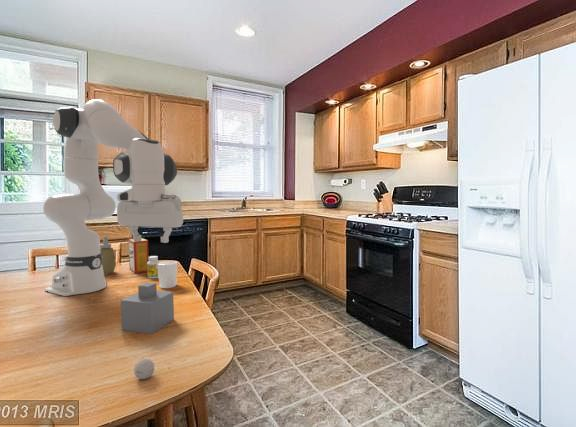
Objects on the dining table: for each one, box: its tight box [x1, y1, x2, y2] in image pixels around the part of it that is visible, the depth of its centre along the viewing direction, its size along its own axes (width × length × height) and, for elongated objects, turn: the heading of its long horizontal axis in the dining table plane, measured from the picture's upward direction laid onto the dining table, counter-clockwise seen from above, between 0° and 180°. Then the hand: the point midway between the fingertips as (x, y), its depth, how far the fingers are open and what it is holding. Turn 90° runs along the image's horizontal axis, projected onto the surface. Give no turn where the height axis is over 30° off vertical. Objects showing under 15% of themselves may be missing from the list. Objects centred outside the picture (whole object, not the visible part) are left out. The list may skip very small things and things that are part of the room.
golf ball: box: [133, 358, 155, 380], centre depth 67 cm, size 4×4×4 cm
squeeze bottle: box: [100, 236, 117, 275], centre depth 151 cm, size 8×8×18 cm
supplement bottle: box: [146, 255, 160, 279], centre depth 145 cm, size 5×5×10 cm
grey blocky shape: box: [119, 281, 175, 335], centre depth 93 cm, size 10×10×12 cm
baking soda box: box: [128, 237, 150, 275], centre depth 156 cm, size 10×6×16 cm
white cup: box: [157, 260, 178, 289], centre depth 131 cm, size 8×8×10 cm
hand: (150, 241), depth 92 cm, fingers open, 8 cm apart
